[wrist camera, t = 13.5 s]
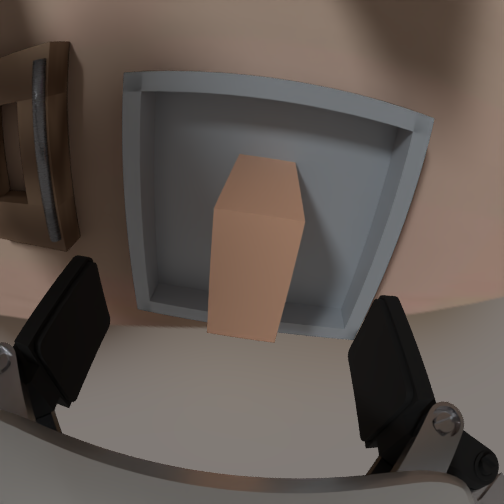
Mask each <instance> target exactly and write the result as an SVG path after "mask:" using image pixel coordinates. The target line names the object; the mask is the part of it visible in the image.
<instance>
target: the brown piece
mask: <svg viewBox="0 0 504 504" xmlns="http://www.w3.org/2000/svg"><path fill="white" fill-rule="evenodd" d="M69 43H70V42H47V43H43V44H40V45H36V46H33V47H30V48H26V49H23V50H20V51H17V52H14V53H11V54H9V55H6V56H3V57H0V238H2V239H7V240H11V241H16V242H21V243H26V244H31V245H36V246H41V247H46V248H51V249H56V250H61V251H66V252H67V251H68V250H69V248H70V247H71V246H72V245H73V244H74V243H75V242H76V241H77V240H78V239H79V238H80V233H79V227H78V221H77V215H76V208H75V201H74V194H73V186H72V177H71V167H70V156H69V142H68V120H67V77H68V56H69ZM13 102H17V117H18V132H19V144H20V153H21V162H22V169H23V176H24V182H25V188H26V191H15V190H10V185H9V179H8V173H7V166H6V159H5V151H4V142H3V131H2V117H1V105H4V104H8V103H13Z"/></svg>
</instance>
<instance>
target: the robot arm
mask: <svg viewBox="0 0 504 504" xmlns="http://www.w3.org/2000/svg"><path fill="white" fill-rule="evenodd" d="M109 325H110V316H109V312H108V309H107V305H106V301H105V297H104V293H103V289H102V285H101V281H100V277H99V272H98V268H97V264H96V263H94V262H93V260H92V258H90V257H84V256H78V255H77V256H75V257H73V259H72V260H71V261H70V262H69V264H68V265H67V266H66V268H65V269H64V270H63V272H62V273H61V274H60V275H59V277H58V278H57V279H56V281H55V282H54V283H53V285H52V286H51V288H50V289H49V290H48V292H47V293H46V294H45V296H44V297H43V299H42V300H41V301H40V303H39V304H38V306H37V307H36V309H35V310H34V312H33V313H32V315H31V316H30V318H29V319H28V321H27V322H26V324H25V325H24V327H23V328H22V330H21V332H20V333H19V335H18V336H17V338H16V339H15V344H14V346H13V347H12V346H11V345H10V344H8V343H4V342H1V343H0V504H504V475H503V474H502V473H500V474H498V469H499V464H498V460H497V457H496V455H495V454H494V453H493V452H492V451H491V450H490V449H489V448H487V447H486V446H484V445H483V444H482V443H480V442H479V441H477V440H476V439H475V438H473V437H472V436H470V435H469V434H468V433H466V432H465V431H464V430H463V429H464V419H463V417H462V414H461V412H460V411H459V409H458V408H457V407H455V406H454V405H453V404H450V403H448V402H439V403H436V401H435V398H434V394H433V391H432V388H431V385H430V382H429V379H428V375H427V373H426V369H425V367H424V364H423V361H422V358H421V355H420V352H419V349H418V347H417V344H416V341H415V339H414V336H413V333H412V331H411V328H410V325H409V323H408V320H407V318H406V315H405V313H404V310H403V308H402V305H401V303H400V301H399V299H398V297H396V296H386V295H381V296H380V297H379V298H378V299H375V300H374V301H373V303H372V306H371V308H370V310H369V312H368V314H367V316H366V318H365V320H364V322H363V324H362V326H361V328H360V330H359V332H358V334H357V335H356V337H355V339H354V341H353V343H352V345H351V347H350V349H349V352H348V361H349V366H350V372H351V378H352V384H353V389H354V396H355V402H356V409H357V416H358V423H359V431H360V437H361V440H362V441H365V446H366V448H374V447H378V451H379V456H378V458H377V459H376V461H375V462H374V464H373V465H372V467H371V468H370V470H369V471H368V472H367V474H366V475H363V476H350V477H335V478H306V479H291V478H262V477H247V476H235V475H226V474H218V473H211V472H204V471H197V470H190V469H185V468H179V467H175V466H170V465H164V464H160V463H155V462H152V461H147V460H143V459H139V458H135V457H132V456H128V455H125V454H121V453H118V452H114V451H111V450H108V449H104V448H102V447H98V446H95V445H92V444H90V443H87V442H84V441H81V440H79V439H76V438H73V437H70V436H68V435H65V434H63V433H62V431H61V428H60V426H59V423H58V420H57V417H56V413H55V410H54V409H55V407H56V405H57V404H60V405H62V406H65V407H67V408H69V407H70V405H71V402H74V401H76V399H77V397H78V395H79V392H80V390H81V387H82V385H83V383H84V380H85V378H86V376H87V373H88V371H89V369H90V367H91V364H92V362H93V360H94V358H95V355H96V353H97V351H98V349H99V347H100V345H101V342H102V340H103V338H104V336H105V334H106V332H107V330H108V328H109Z"/></svg>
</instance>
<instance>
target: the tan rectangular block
mask: <svg viewBox="0 0 504 504" xmlns="http://www.w3.org/2000/svg"><path fill="white" fill-rule="evenodd" d="M304 225H305V217H304V211H303V204H302V198H301V192H300V186H299V180H298V174H297V169H296V163H295V162H290V161H284V160H278V159H271V158H265V157H258V156H251V155H243V154H239V156H238V158H237V160H236V162H235V164H234V166H233V168H232V170H231V173H230V175H229V177H228V179H227V181H226V183H225V185H224V187H223V189H222V192H221V194H220V196H219V198H218V200H217V202H216V205H215V207H214V214H213V228H212V243H211V260H210V277H209V297H208V320H207V333H212V334H218V335H224V336H231V337H237V338H244V339H251V340H258V341H266V342H273V343H274V342H275V339H276V335H277V331H278V328H279V324H280V320H281V317H282V313H283V309H284V305H285V302H286V298H287V294H288V290H289V286H290V282H291V278H292V274H293V270H294V266H295V262H296V258H297V254H298V250H299V246H300V242H301V238H302V233H303V229H304Z"/></svg>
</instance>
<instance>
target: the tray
mask: <svg viewBox="0 0 504 504" xmlns="http://www.w3.org/2000/svg"><path fill="white" fill-rule="evenodd" d="M433 123H434V118H432V117H429V116H427V115H424V114H421V113H418V112H415V111H412V110H409V109H406V108H403V107H400V106H397V105H394V104H391V103H387V102H384V101H380V100H377V99H373V98H370V97H366V96H362V95H358V94H354V93H350V92H346V91H342V90H337V89H333V88H328V87H323V86H318V85H313V84H307V83H302V82H296V81H290V80H283V79H276V78H269V77H261V76H252V75H243V74H231V73H217V72H197V71H143V72H126V73H124V80H123V107H122V152H123V179H124V197H125V210H126V222H127V233H128V242H129V251H130V259H131V267H132V275H133V282H134V288H135V295H136V301H137V307H138V309H139V310H144V311H149V312H154V313H159V314H164V315H170V316H175V317H180V318H186V319H192V320H197V321H203V322H207V320H208V297H209V277H210V260H211V243H212V228H213V214H214V207H215V205H216V202H217V200H218V198H219V196H220V194H221V192H222V189H223V187H224V185H225V183H226V181H227V179H228V177H229V175H230V173H231V170H232V168H233V166H234V164H235V162H236V160H237V158H238V156H239V154H243V155H251V156H258V157H265V158H271V159H278V160H284V161H290V162H295V163H296V169H297V174H298V180H299V186H300V192H301V198H302V204H303V211H304V217H305V225H304V229H303V233H302V238H301V242H300V246H299V250H298V254H297V258H296V262H295V266H294V270H293V274H292V278H291V282H290V286H289V290H288V294H287V298H286V302H285V305H284V309H283V313H282V317H281V320H280V324H279V328H278V331H277V332H279V333H288V334H297V335H306V336H315V337H316V336H317V337H326V338H337V339H350V340H354V338H355V336H356V334H357V332H358V330H359V328H360V326H361V323H362V322H363V320H364V317H365V315H366V313H367V311H368V309H369V307H370V305H371V302H372V300H373V298H374V296H375V294H376V291H377V289H378V287H379V284H380V282H381V280H382V278H383V275H384V273H385V270H386V268H387V266H388V263H389V261H390V258H391V256H392V253H393V251H394V248H395V245H396V243H397V240H398V238H399V235H400V232H401V229H402V227H403V224H404V221H405V218H406V215H407V213H408V210H409V207H410V204H411V201H412V198H413V195H414V192H415V188H416V185H417V182H418V179H419V175H420V172H421V169H422V165H423V162H424V158H425V154H426V151H427V147H428V143H429V139H430V135H431V131H432V127H433Z"/></svg>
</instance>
